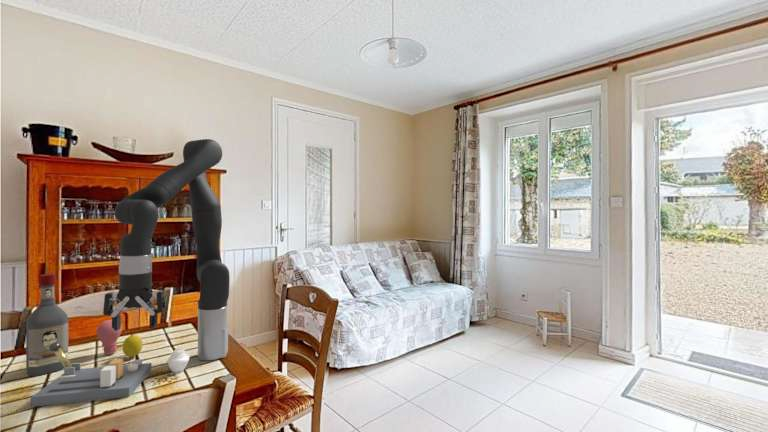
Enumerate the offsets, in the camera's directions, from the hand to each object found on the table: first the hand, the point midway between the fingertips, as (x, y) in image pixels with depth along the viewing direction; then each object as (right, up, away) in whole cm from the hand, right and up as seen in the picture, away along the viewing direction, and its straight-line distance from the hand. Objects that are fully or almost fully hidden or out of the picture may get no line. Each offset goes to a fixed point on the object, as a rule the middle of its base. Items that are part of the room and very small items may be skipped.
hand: (134, 328), depth 99 cm
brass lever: (-23, -14, +6) cm, 28 cm away
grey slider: (-6, -15, -1) cm, 16 cm away
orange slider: (-8, -15, +3) cm, 17 cm away
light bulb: (-27, -17, +25) cm, 41 cm away
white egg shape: (+4, -18, +14) cm, 23 cm away
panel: (-13, -18, +3) cm, 22 cm away
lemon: (-17, -17, +23) cm, 33 cm away
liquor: (-37, -17, +13) cm, 43 cm away
